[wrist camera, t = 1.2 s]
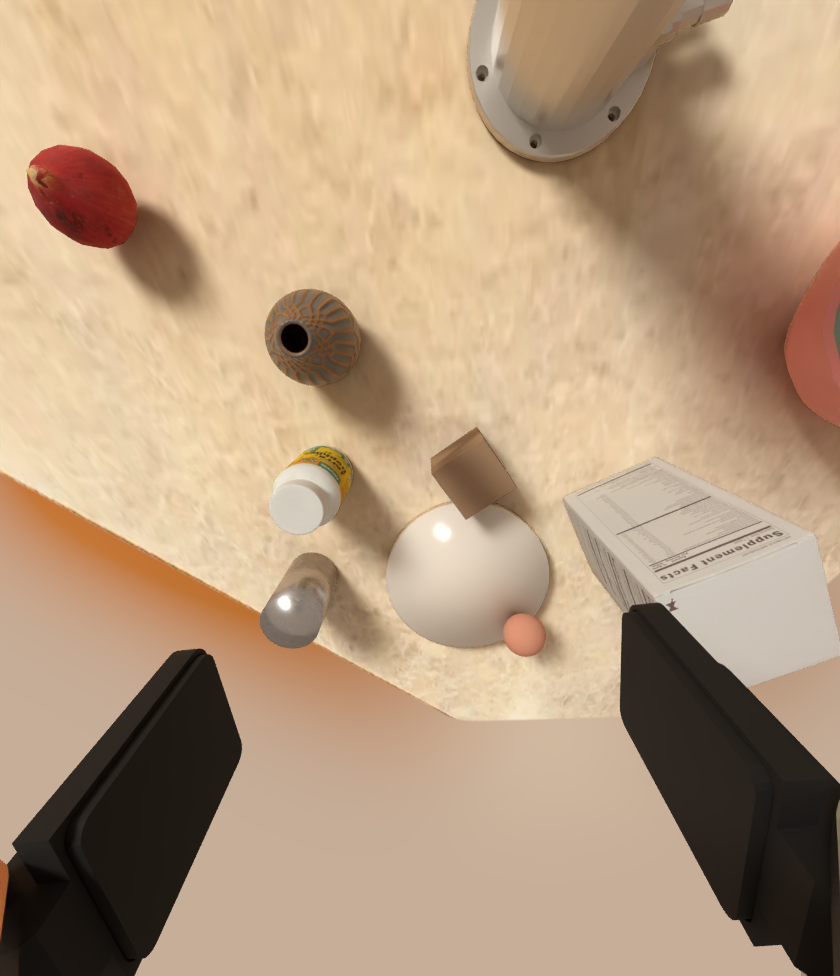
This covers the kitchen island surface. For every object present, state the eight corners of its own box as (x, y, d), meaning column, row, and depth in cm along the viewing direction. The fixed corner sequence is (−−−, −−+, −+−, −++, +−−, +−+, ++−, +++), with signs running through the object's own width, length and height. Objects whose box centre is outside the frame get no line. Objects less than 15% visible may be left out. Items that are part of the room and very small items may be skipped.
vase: (374, 309, 35) (357, 298, 26) (355, 391, 37) (334, 405, 29) (292, 283, 34) (248, 264, 26) (278, 368, 36) (233, 376, 28)
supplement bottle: (289, 485, 40) (249, 527, 31) (307, 434, 38) (270, 462, 29) (343, 506, 40) (318, 554, 31) (362, 457, 39) (343, 492, 30)
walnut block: (476, 426, 38) (483, 438, 33) (506, 470, 39) (516, 487, 34) (431, 458, 39) (431, 474, 34) (461, 499, 40) (465, 520, 35)
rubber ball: (535, 600, 42) (546, 626, 38) (542, 632, 43) (553, 660, 39) (496, 609, 42) (502, 635, 38) (504, 641, 43) (512, 669, 40)
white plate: (528, 481, 39) (531, 485, 38) (558, 620, 44) (562, 628, 43) (366, 523, 41) (364, 529, 40) (412, 652, 46) (412, 661, 45)
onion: (162, 262, 34) (85, 238, 26) (90, 250, 34) (-9, 223, 26) (158, 177, 32) (74, 125, 24) (81, 164, 32) (-27, 108, 24)
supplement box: (591, 573, 42) (689, 713, 26) (558, 496, 40) (646, 600, 24) (685, 535, 41) (850, 659, 25) (658, 453, 38) (823, 532, 22)
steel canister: (328, 547, 42) (306, 592, 34) (345, 589, 43) (327, 641, 36) (282, 559, 42) (250, 606, 35) (300, 600, 44) (273, 653, 36)
